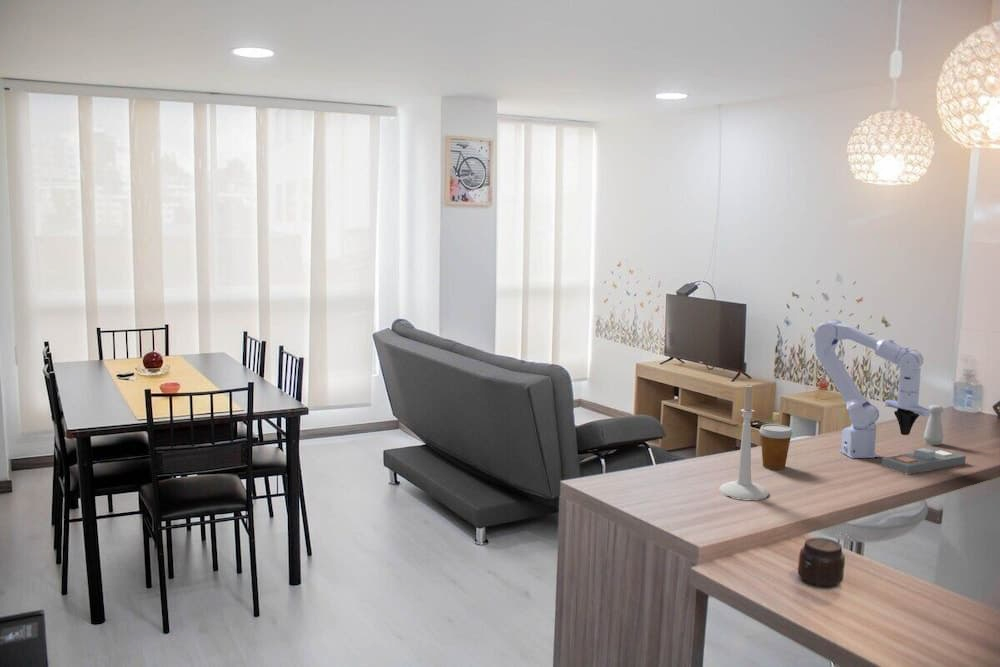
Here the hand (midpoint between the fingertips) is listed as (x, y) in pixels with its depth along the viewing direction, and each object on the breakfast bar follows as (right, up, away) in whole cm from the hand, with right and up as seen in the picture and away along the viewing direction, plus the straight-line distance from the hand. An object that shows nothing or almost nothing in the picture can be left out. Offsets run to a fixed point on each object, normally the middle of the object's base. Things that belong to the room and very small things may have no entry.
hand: (905, 434), depth 253 cm
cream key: (+12, -8, +1) cm, 14 cm away
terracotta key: (-2, -9, -5) cm, 11 cm away
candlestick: (-57, -13, -27) cm, 65 cm away
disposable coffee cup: (-41, -9, -4) cm, 43 cm away
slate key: (+5, -7, -2) cm, 9 cm away
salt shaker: (+20, -6, +21) cm, 30 cm away
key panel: (+5, -9, -2) cm, 10 cm away
